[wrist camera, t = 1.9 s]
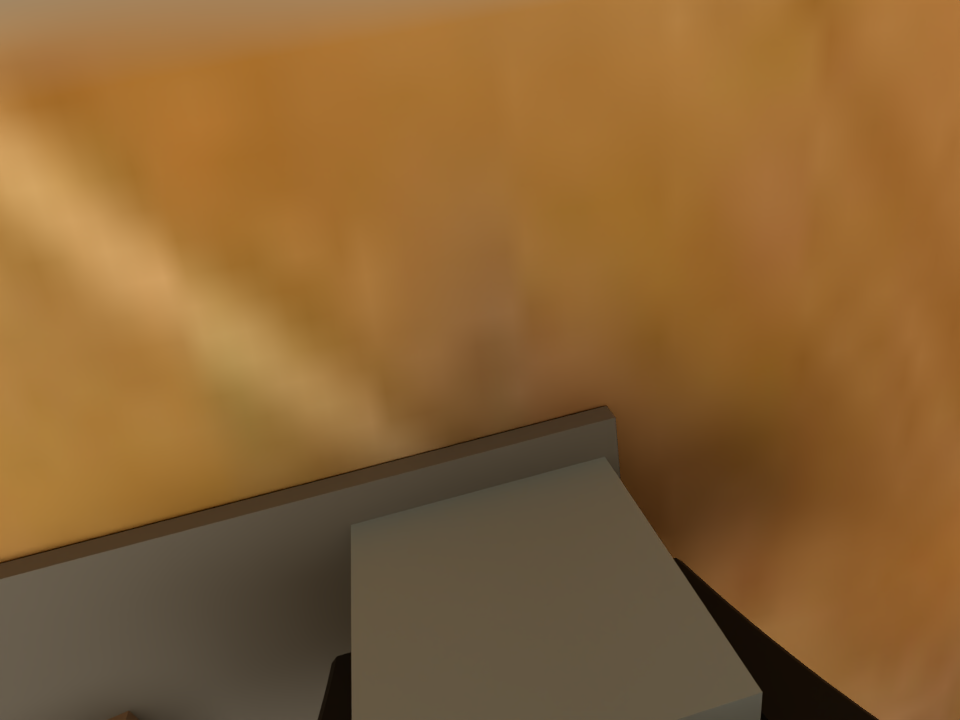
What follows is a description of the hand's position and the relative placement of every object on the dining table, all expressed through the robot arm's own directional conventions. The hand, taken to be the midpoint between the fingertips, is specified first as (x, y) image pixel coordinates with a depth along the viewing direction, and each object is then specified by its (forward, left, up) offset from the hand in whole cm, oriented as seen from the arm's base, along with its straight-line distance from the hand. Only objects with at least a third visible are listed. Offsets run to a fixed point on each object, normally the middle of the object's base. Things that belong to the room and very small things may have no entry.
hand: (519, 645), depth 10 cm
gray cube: (0, 0, -1) cm, 1 cm away
